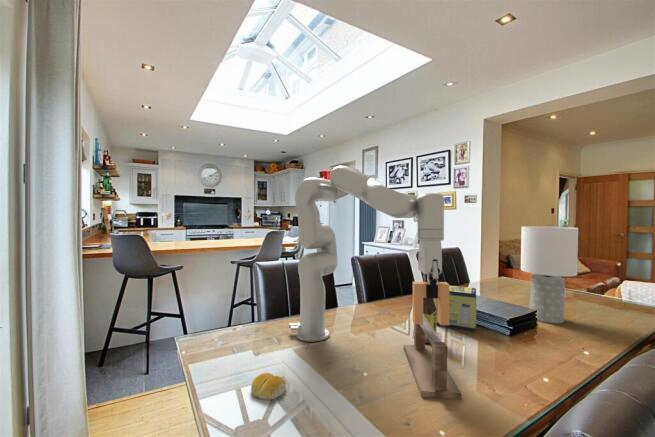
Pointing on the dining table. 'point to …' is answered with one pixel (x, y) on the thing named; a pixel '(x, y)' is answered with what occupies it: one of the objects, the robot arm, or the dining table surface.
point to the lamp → (549, 267)
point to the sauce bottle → (430, 314)
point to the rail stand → (430, 364)
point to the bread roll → (268, 386)
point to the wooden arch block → (420, 293)
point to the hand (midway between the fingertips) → (430, 295)
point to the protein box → (461, 308)
